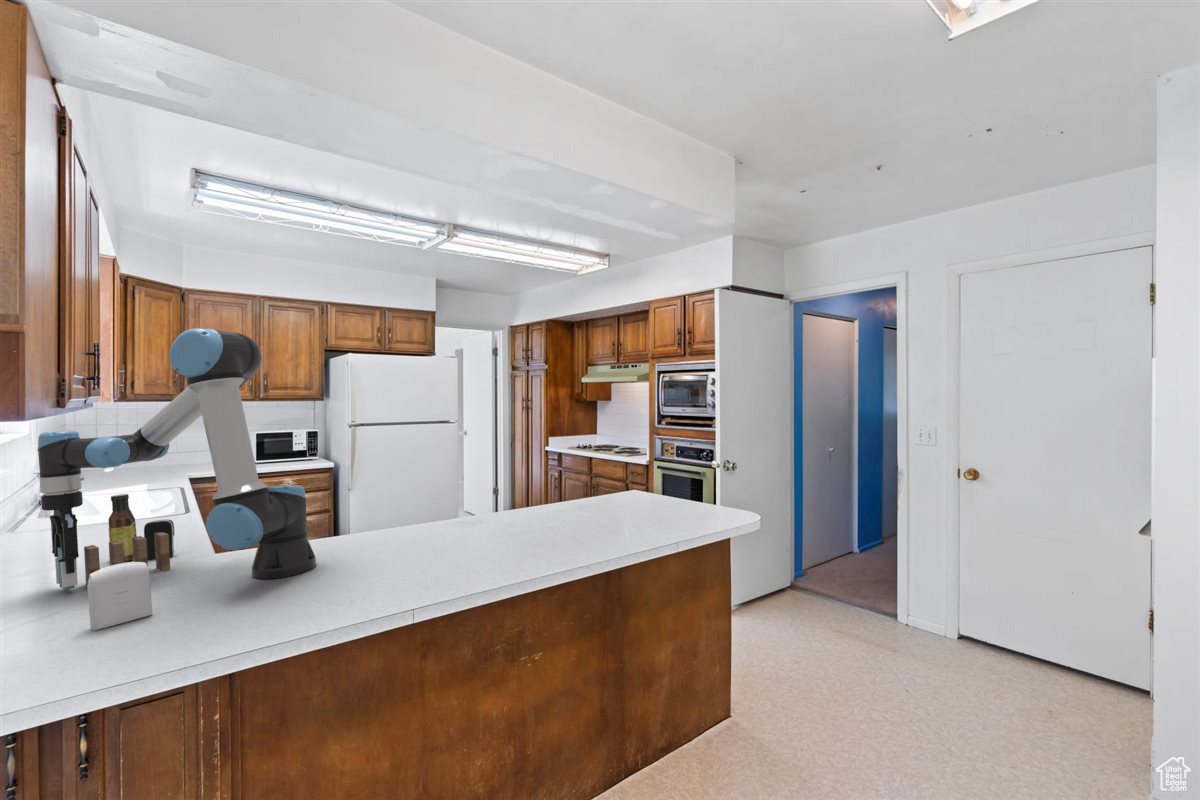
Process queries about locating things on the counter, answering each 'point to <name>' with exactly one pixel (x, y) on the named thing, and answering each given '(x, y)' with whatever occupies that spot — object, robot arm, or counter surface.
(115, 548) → the domino
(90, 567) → the domino
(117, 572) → the photo printer
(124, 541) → the sauce bottle
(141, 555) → the domino
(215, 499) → the robot arm
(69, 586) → the domino
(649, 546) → the counter surface
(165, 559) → the domino
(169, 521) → the battery charger
